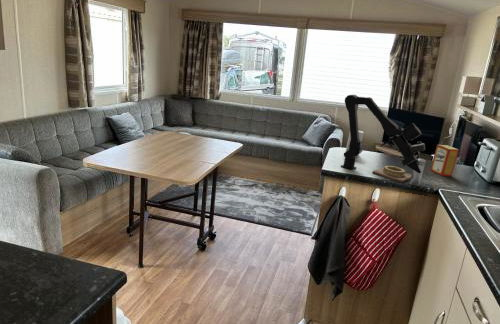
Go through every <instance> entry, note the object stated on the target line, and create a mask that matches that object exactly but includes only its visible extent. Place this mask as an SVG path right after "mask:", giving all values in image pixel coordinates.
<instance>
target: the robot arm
mask: <svg viewBox="0 0 500 324" xmlns="http://www.w3.org/2000/svg"><path fill="white" fill-rule="evenodd" d="M344 104H345V108H346V109H347V112H348V121H349V122H348V123H349V133H350V136H351V140H350V144H349V150H348V151H347V152H344V153H343V157H344V161H343V164H341V165H340V167H342V168H344V169H347V170H350V171H351V170H356V169H357V168H358V167H356V166H355V164H356V158H357V157H356V156H357V155H359V156H360V154H362V153H363V150H364V148H365V147H364V140H362V141H360V139H359V131H360V130H359V121H358V120H359V119H358V118H359V117H358V110H359V105H361V106H366V107H367V108H368V110H369V111H370V112H371V113H372V115H373V116H374V117H375V118H376V119H377V121H378V122H379V123H380V125H381V128H382V129H383V132H384V133H385V134H386V135H387V136H389V137H388V141H387V143H389V144H390V143H393V144H394V146H395V147H396V149H397V151H398V153H400V154H401V156H402V160H401V164H402V165H403V166H404V167H405V166H407V167H408V168H410V169H412V171H413V170H415V171H416V172H418V173H421V171H420V168H419V166H418V164H417V159H418V158H419V159H420V154H421V152H424V151H425V150H426V144H425V143H424V142H422V141H417V143H416V144H411V143H409V142H408V141H409V140H410V141H413V140H415V139H416V138H418V137H420V136H421V135H422V131H421V130H420V129H419V127H417V125H416V124H415V123H411V124H409V125H408V126H407V127H405V128H403V127H402V126H401V127H400V126H399V125H398V124H397V123H396V122H394V120H392V119H390V118H389V117H388V116H387V115H386V114H385V112H384V111H383V110H382V109H381V108H380V106H378V104H377V103H376V102H375V101H374V99H373V98H372V97H364V96H358V95H357V94H348V95H346V96H345V98H344ZM416 158H417V159H416Z"/></svg>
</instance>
